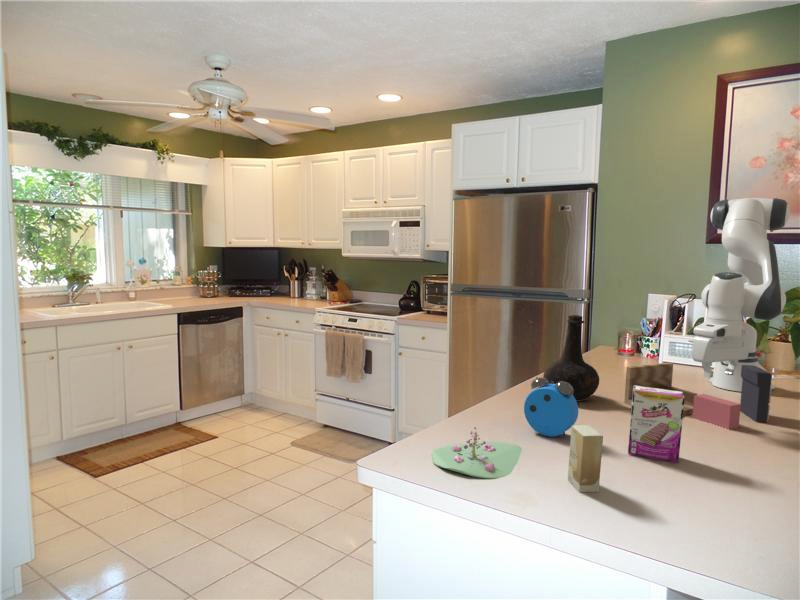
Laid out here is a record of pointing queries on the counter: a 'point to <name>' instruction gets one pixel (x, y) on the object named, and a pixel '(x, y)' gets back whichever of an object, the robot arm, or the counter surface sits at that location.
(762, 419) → the stepped charcoal slab
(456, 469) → the plant
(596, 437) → the skincare box
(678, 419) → the candy bar box
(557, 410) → the alarm clock
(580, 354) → the glass bottle
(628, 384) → the wooden shelf rack
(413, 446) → the counter surface
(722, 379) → the robot arm
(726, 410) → the boxed book
